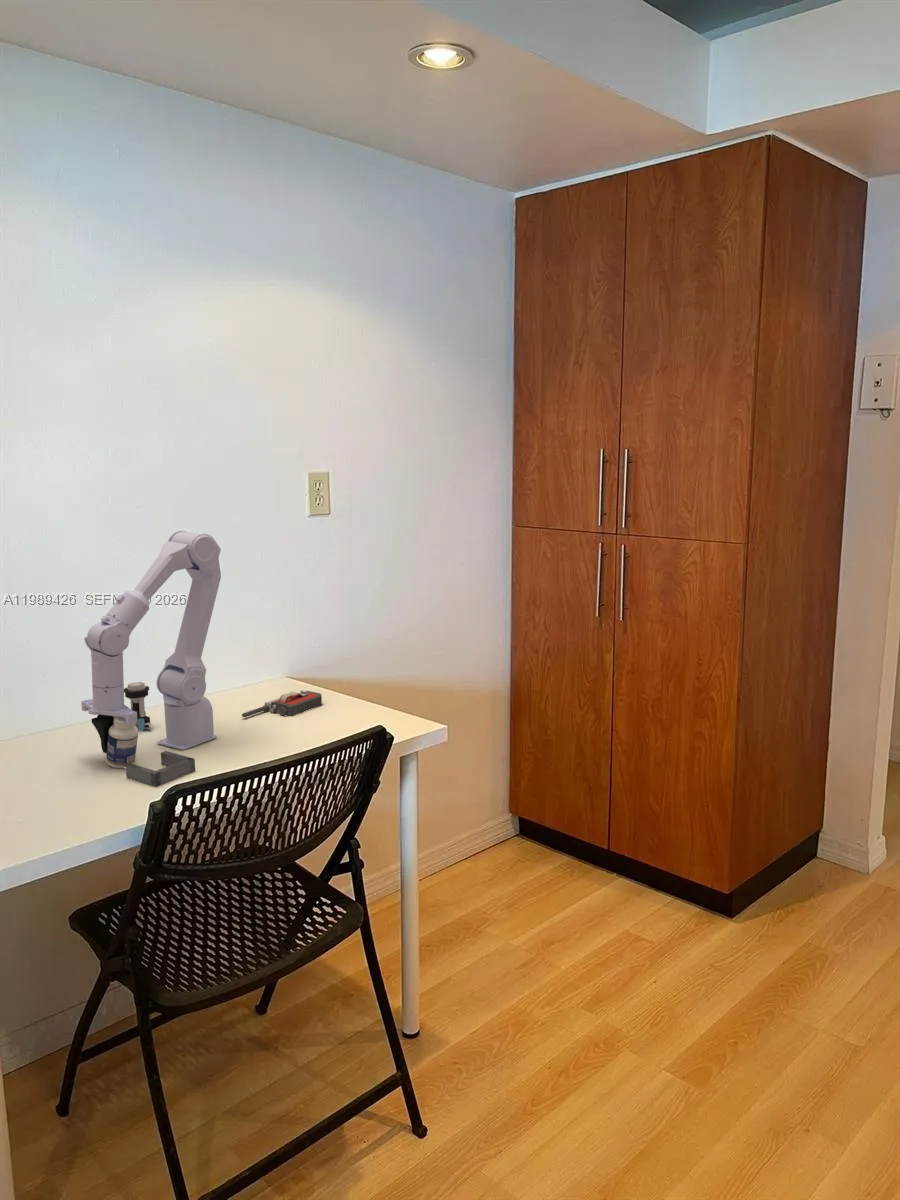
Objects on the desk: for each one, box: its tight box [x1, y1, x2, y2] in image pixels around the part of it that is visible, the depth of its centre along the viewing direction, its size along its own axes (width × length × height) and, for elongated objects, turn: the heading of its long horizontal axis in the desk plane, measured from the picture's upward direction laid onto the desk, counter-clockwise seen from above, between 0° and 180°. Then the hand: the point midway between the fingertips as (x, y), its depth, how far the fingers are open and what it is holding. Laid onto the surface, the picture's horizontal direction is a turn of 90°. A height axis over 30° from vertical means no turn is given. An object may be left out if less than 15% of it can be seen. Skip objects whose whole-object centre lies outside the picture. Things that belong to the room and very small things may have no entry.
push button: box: [124, 681, 153, 731], centre depth 196 cm, size 7×5×10 cm
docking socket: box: [125, 750, 196, 788], centre depth 170 cm, size 9×8×2 cm
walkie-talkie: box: [241, 690, 323, 718], centre depth 210 cm, size 9×4×20 cm
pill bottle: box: [105, 716, 139, 769], centre depth 175 cm, size 5×5×10 cm
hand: (110, 751), depth 177 cm, fingers closed, pressing on pill bottle
